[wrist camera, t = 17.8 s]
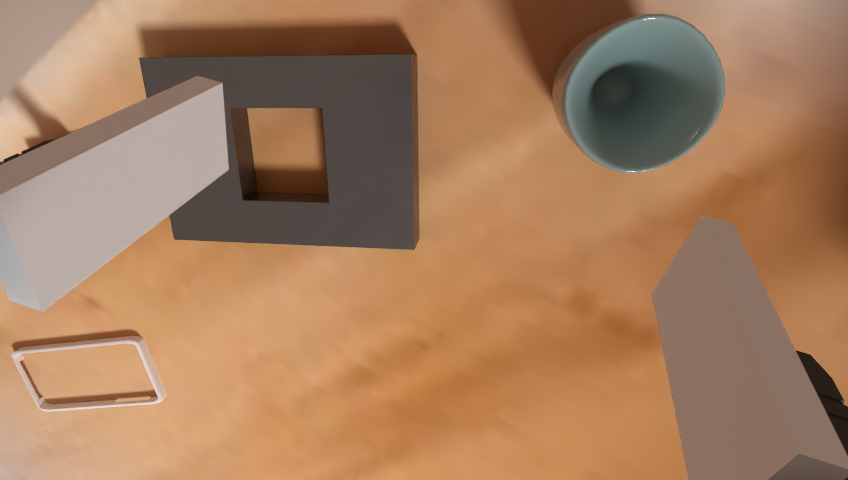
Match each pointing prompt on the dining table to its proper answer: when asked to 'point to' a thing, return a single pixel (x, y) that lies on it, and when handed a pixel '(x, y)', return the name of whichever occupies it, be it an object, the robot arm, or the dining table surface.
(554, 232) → the dining table surface
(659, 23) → the cup
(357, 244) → the socket block
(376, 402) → the dining table surface
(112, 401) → the phone case
